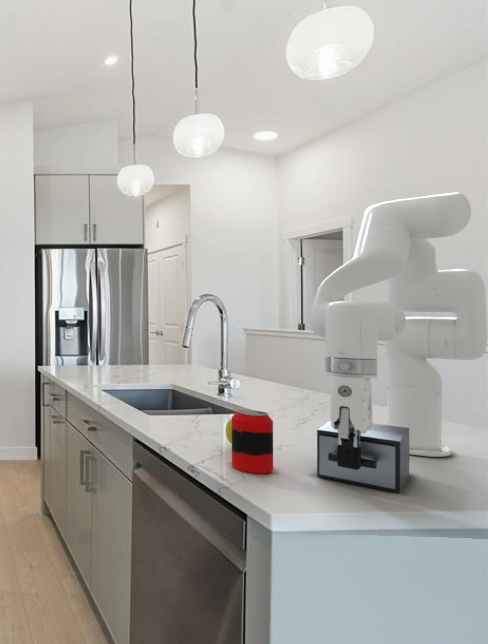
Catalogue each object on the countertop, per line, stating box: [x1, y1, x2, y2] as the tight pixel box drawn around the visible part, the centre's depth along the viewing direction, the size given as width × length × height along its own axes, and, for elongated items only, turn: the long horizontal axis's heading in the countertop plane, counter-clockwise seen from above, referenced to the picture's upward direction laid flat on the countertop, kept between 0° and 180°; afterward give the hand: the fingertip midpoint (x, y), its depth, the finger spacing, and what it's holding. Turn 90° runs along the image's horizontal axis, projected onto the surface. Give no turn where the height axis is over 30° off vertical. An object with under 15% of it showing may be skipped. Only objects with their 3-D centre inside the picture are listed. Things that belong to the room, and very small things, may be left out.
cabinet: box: [316, 419, 410, 494], centre depth 102 cm, size 15×13×10 cm
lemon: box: [225, 418, 232, 445], centre depth 122 cm, size 6×6×8 cm
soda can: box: [231, 409, 274, 475], centre depth 107 cm, size 8×8×12 cm
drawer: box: [319, 435, 396, 489], centre depth 99 cm, size 18×11×8 cm, turn 132°
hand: (349, 467), depth 92 cm, fingers closed
